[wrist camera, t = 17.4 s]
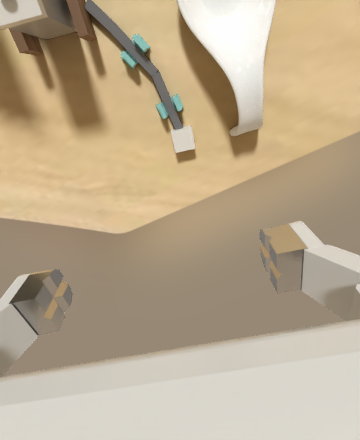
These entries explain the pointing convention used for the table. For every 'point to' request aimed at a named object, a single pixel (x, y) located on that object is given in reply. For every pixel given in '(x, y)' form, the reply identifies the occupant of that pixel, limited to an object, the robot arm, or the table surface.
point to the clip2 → (140, 45)
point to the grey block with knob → (37, 17)
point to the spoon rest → (235, 48)
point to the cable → (180, 134)
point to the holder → (81, 21)
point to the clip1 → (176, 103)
